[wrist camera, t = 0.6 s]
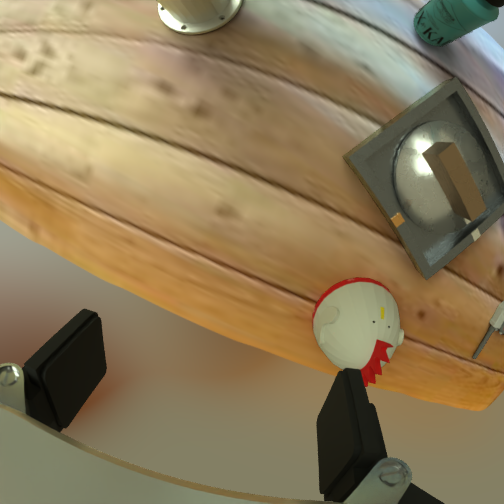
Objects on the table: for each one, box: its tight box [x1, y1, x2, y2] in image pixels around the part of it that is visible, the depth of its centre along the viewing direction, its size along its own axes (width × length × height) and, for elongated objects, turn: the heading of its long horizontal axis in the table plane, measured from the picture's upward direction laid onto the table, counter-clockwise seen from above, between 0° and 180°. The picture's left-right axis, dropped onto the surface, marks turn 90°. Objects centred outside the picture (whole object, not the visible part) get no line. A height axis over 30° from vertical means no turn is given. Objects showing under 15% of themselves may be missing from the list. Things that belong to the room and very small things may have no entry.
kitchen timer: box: [313, 278, 404, 387], centre depth 40 cm, size 14×14×15 cm
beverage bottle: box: [414, 0, 504, 47], centre depth 22 cm, size 6×7×20 cm
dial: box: [394, 121, 488, 234], centre depth 33 cm, size 16×16×6 cm
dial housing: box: [342, 77, 504, 280], centre depth 36 cm, size 21×21×4 cm
